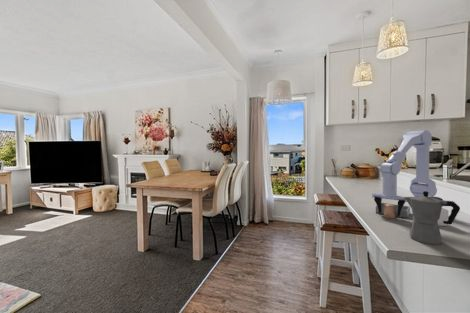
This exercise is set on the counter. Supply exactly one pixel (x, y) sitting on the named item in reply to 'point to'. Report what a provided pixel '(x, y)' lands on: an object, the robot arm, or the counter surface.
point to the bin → (396, 210)
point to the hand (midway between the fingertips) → (389, 213)
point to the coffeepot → (429, 218)
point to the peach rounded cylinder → (389, 211)
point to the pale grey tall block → (442, 214)
